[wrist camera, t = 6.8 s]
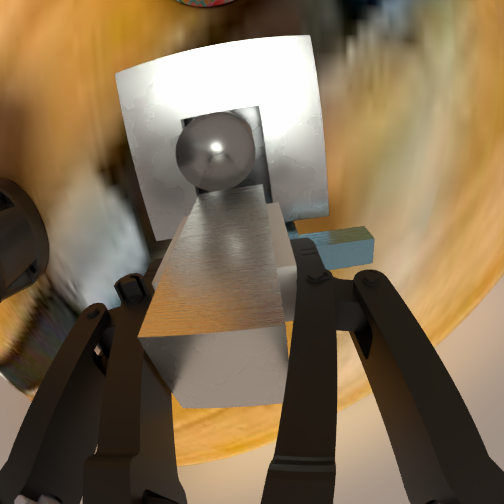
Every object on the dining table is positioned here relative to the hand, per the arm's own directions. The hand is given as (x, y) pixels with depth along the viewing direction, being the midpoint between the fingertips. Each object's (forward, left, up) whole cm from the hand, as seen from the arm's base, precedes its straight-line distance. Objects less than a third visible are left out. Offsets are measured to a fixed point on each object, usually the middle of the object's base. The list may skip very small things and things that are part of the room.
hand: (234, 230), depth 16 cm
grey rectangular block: (0, 0, -2) cm, 2 cm away
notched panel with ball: (+1, +4, -10) cm, 11 cm away
